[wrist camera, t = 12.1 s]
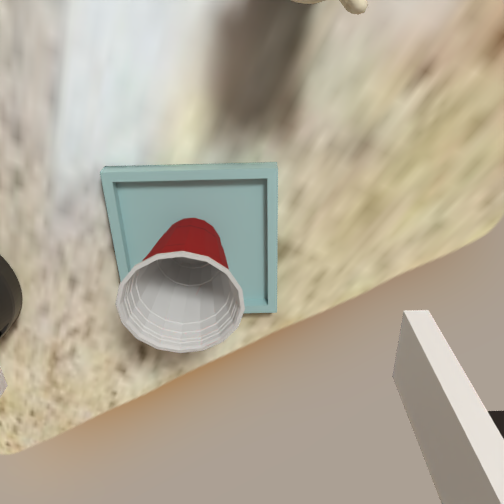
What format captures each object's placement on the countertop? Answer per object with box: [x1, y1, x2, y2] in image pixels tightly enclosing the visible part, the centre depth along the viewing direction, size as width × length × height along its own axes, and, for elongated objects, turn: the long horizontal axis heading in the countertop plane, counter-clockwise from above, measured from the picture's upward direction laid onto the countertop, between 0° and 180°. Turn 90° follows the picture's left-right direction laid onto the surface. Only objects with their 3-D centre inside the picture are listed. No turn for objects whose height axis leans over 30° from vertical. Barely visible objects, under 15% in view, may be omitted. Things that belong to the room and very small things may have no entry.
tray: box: [100, 162, 278, 313], centre depth 49 cm, size 17×17×2 cm
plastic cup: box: [116, 218, 245, 353], centre depth 44 cm, size 11×11×12 cm
